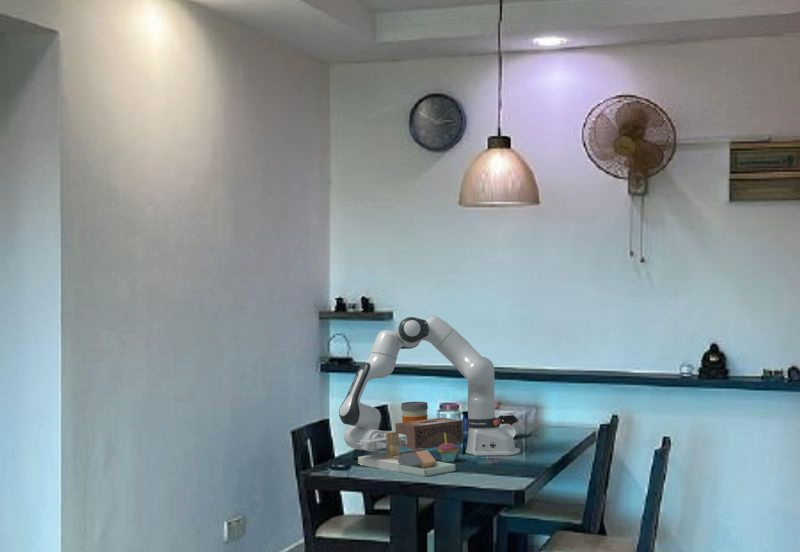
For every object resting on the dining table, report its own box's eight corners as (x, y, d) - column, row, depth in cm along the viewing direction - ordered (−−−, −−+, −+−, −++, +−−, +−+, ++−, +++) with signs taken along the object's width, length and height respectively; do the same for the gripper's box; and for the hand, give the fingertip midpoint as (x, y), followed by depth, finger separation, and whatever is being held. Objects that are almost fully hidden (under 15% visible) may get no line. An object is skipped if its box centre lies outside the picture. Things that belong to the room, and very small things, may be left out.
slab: (358, 464, 412) (358, 457, 412) (387, 459, 421) (387, 452, 422) (399, 472, 393) (398, 463, 393) (429, 466, 402) (428, 458, 402)
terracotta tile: (412, 457, 399) (415, 451, 398) (424, 455, 403) (427, 449, 401) (421, 468, 395) (424, 462, 394) (432, 466, 399) (435, 460, 398)
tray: (399, 472, 393) (398, 465, 393) (429, 466, 402) (428, 460, 402) (425, 476, 381) (425, 469, 381) (455, 471, 391) (455, 464, 391)
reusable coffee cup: (410, 433, 495) (409, 401, 495) (433, 434, 489) (432, 401, 489) (396, 436, 484) (395, 404, 484) (420, 437, 478) (419, 405, 478)
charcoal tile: (398, 459, 394) (401, 454, 393) (410, 457, 398) (413, 452, 397) (406, 471, 391) (409, 465, 389) (418, 469, 395) (421, 463, 393)
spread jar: (511, 435, 476) (510, 410, 476) (526, 438, 467) (525, 412, 467) (489, 438, 470) (489, 412, 470) (505, 441, 460) (504, 414, 460)
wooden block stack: (378, 459, 405) (377, 433, 405) (402, 455, 412) (401, 429, 412) (399, 463, 395) (398, 436, 395) (423, 458, 403) (422, 432, 403)
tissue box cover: (415, 450, 446) (414, 426, 446) (396, 446, 458) (395, 423, 458) (463, 443, 460) (462, 420, 460) (443, 439, 472) (442, 417, 472)
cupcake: (452, 463, 408) (451, 432, 408) (433, 461, 413) (432, 431, 413) (462, 459, 416) (461, 429, 416) (444, 458, 420) (443, 428, 420)
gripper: (353, 436, 409) (375, 439, 399) (393, 430, 422) (415, 433, 412) (353, 452, 409) (375, 455, 399) (393, 445, 422) (416, 449, 412)
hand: (396, 444), depth 405 cm, fingers open, 8 cm apart
